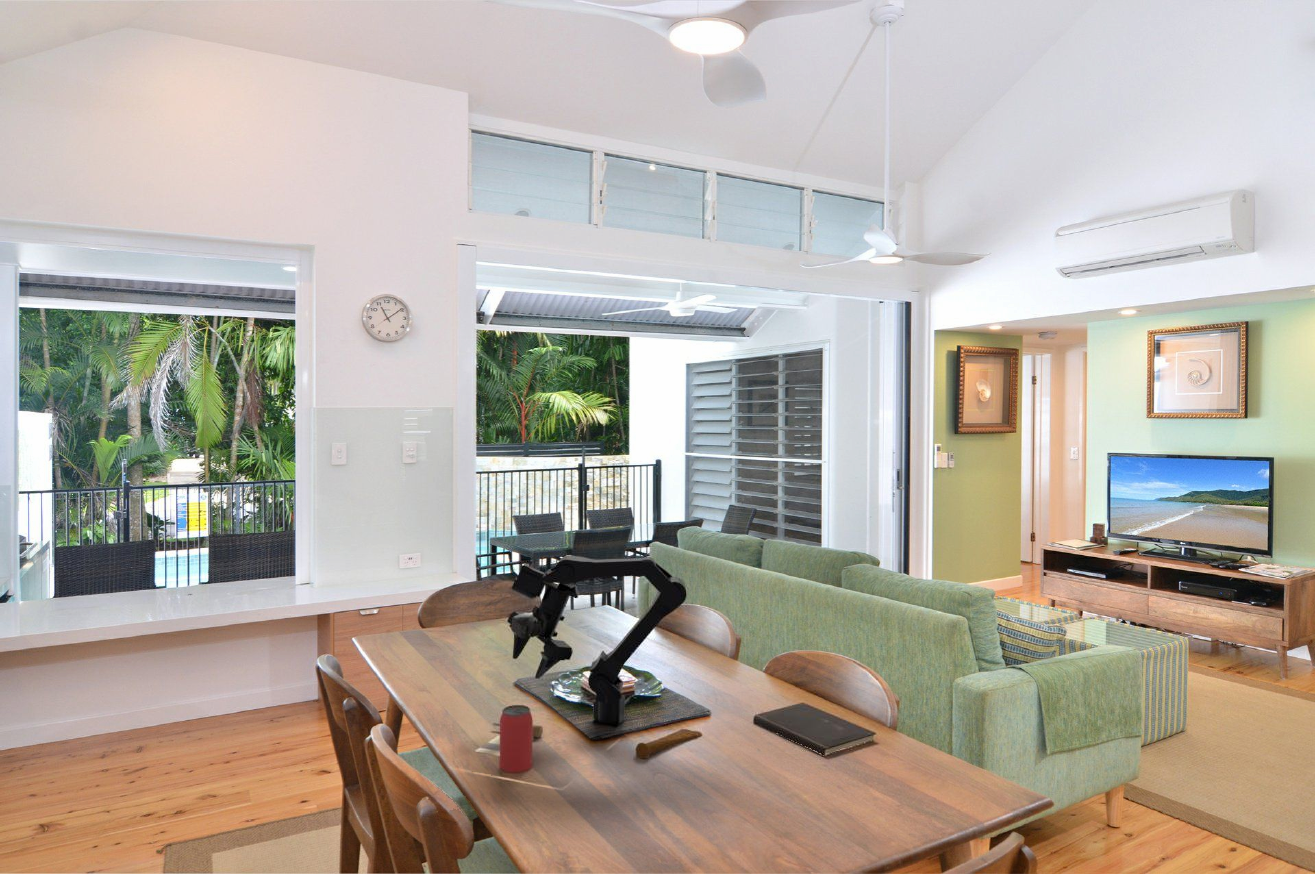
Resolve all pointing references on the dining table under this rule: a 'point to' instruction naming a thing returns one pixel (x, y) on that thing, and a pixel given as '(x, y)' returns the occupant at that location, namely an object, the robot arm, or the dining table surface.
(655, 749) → the primitive tool
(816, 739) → the hardcover book
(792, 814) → the dining table surface
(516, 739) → the beer can
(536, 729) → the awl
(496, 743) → the plywood offcut
